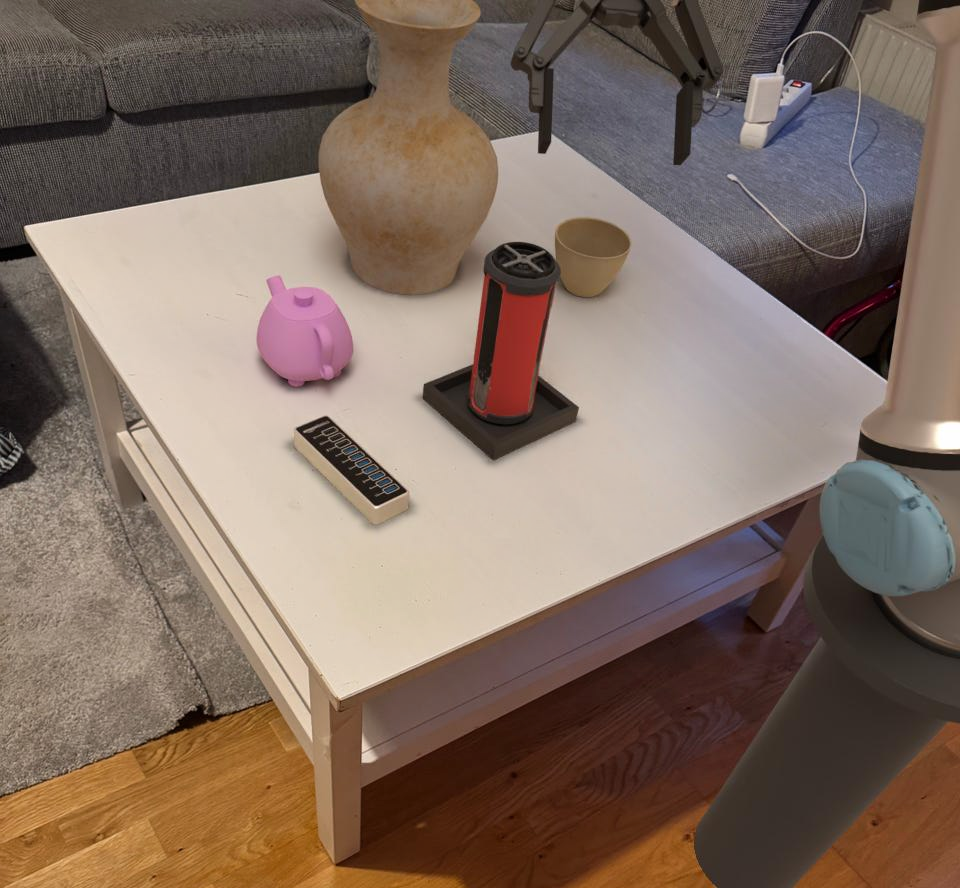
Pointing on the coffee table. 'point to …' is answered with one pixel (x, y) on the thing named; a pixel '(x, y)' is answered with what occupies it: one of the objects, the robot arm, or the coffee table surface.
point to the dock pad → (492, 437)
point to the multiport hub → (351, 469)
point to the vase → (409, 154)
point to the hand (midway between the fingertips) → (613, 154)
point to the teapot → (303, 334)
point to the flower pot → (590, 254)
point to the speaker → (511, 331)
